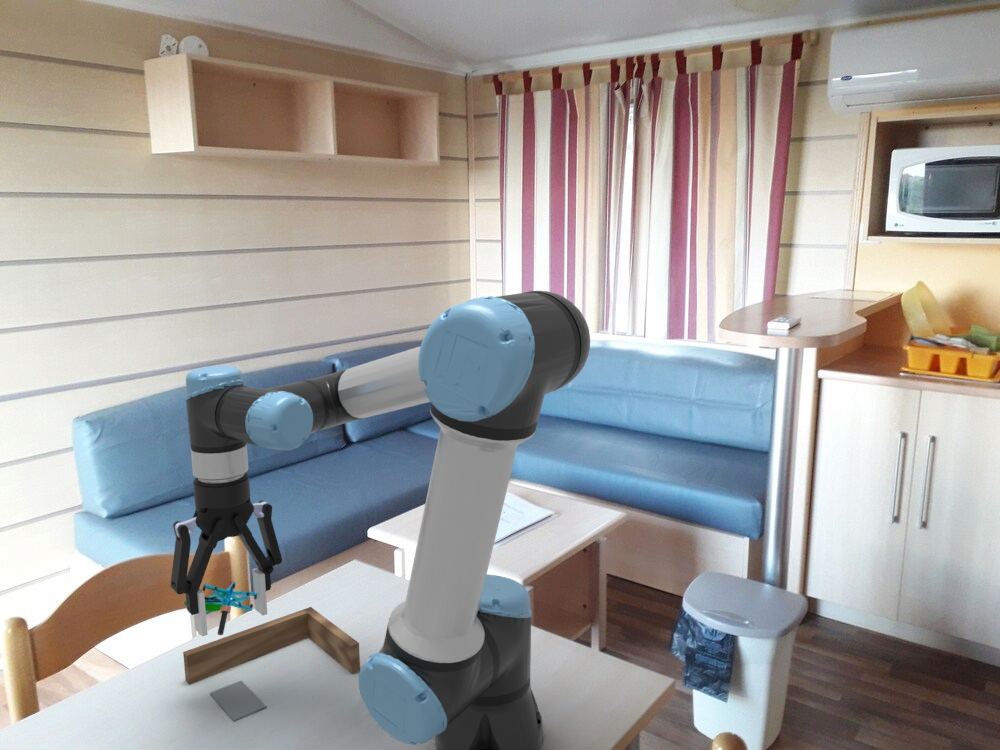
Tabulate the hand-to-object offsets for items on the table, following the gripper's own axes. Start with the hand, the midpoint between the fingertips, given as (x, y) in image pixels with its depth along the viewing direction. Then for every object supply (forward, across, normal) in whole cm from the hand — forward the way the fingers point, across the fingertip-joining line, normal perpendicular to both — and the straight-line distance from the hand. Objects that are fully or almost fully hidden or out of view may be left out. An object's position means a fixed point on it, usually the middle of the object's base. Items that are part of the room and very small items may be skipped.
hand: (232, 621), depth 115 cm
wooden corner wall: (+13, -17, -2) cm, 22 cm away
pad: (+13, 0, 0) cm, 13 cm away
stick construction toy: (+1, -1, -1) cm, 2 cm away
